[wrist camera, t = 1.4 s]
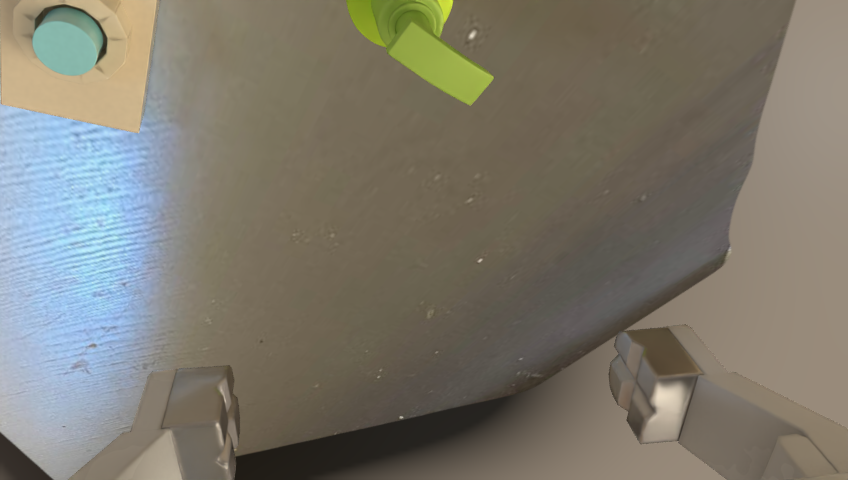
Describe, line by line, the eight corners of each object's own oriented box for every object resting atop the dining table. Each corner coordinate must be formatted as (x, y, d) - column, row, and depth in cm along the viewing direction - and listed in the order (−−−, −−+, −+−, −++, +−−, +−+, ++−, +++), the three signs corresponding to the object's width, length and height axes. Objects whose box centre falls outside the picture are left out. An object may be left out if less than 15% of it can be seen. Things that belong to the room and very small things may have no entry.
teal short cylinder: (41, -1, 40) (32, 13, 38) (105, 16, 41) (99, 31, 39) (40, 52, 42) (31, 67, 40) (101, 66, 43) (94, 82, 42)
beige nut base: (12, -67, 41) (-13, -40, 37) (163, -22, 44) (153, 6, 41) (12, 84, 47) (-9, 119, 44) (144, 113, 51) (134, 148, 47)
